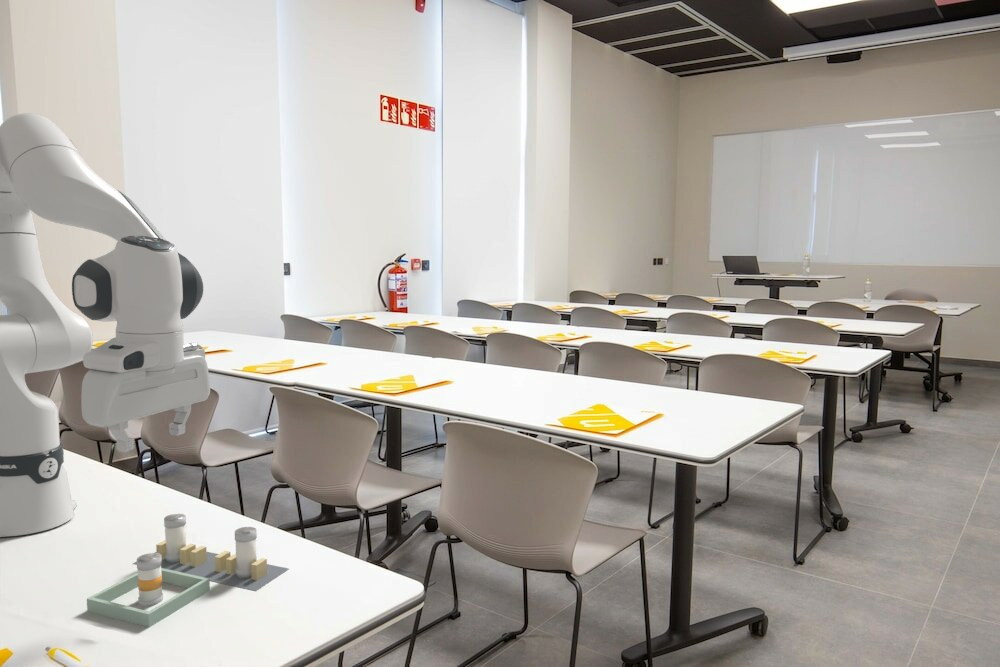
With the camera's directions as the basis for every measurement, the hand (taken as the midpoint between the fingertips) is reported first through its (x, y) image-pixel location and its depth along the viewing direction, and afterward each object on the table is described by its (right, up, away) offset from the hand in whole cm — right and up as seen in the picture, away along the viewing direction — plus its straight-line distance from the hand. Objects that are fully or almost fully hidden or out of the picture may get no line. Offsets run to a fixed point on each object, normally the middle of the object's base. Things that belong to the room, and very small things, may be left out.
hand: (152, 442), depth 106 cm
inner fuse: (-1, -21, +11) cm, 23 cm away
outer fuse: (+12, -21, +6) cm, 25 cm away
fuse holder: (+5, -22, +9) cm, 24 cm away
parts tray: (+1, -24, -3) cm, 24 cm away
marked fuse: (+1, -23, -3) cm, 23 cm away
